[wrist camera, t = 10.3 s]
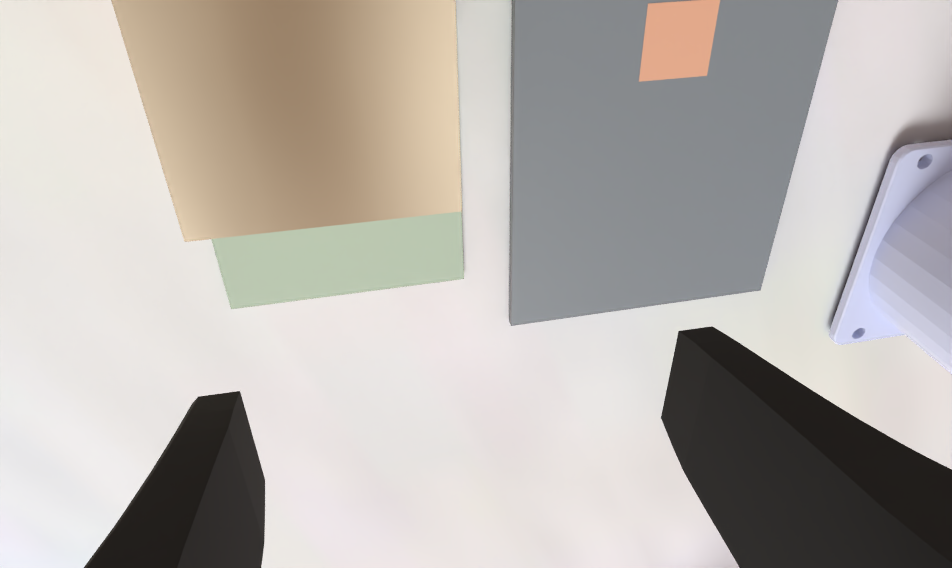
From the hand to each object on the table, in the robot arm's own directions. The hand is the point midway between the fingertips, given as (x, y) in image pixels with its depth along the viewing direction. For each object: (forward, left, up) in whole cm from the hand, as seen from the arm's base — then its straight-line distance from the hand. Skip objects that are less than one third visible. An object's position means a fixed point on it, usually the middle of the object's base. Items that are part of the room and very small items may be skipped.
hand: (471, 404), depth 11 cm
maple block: (+2, -4, -9) cm, 10 cm away
